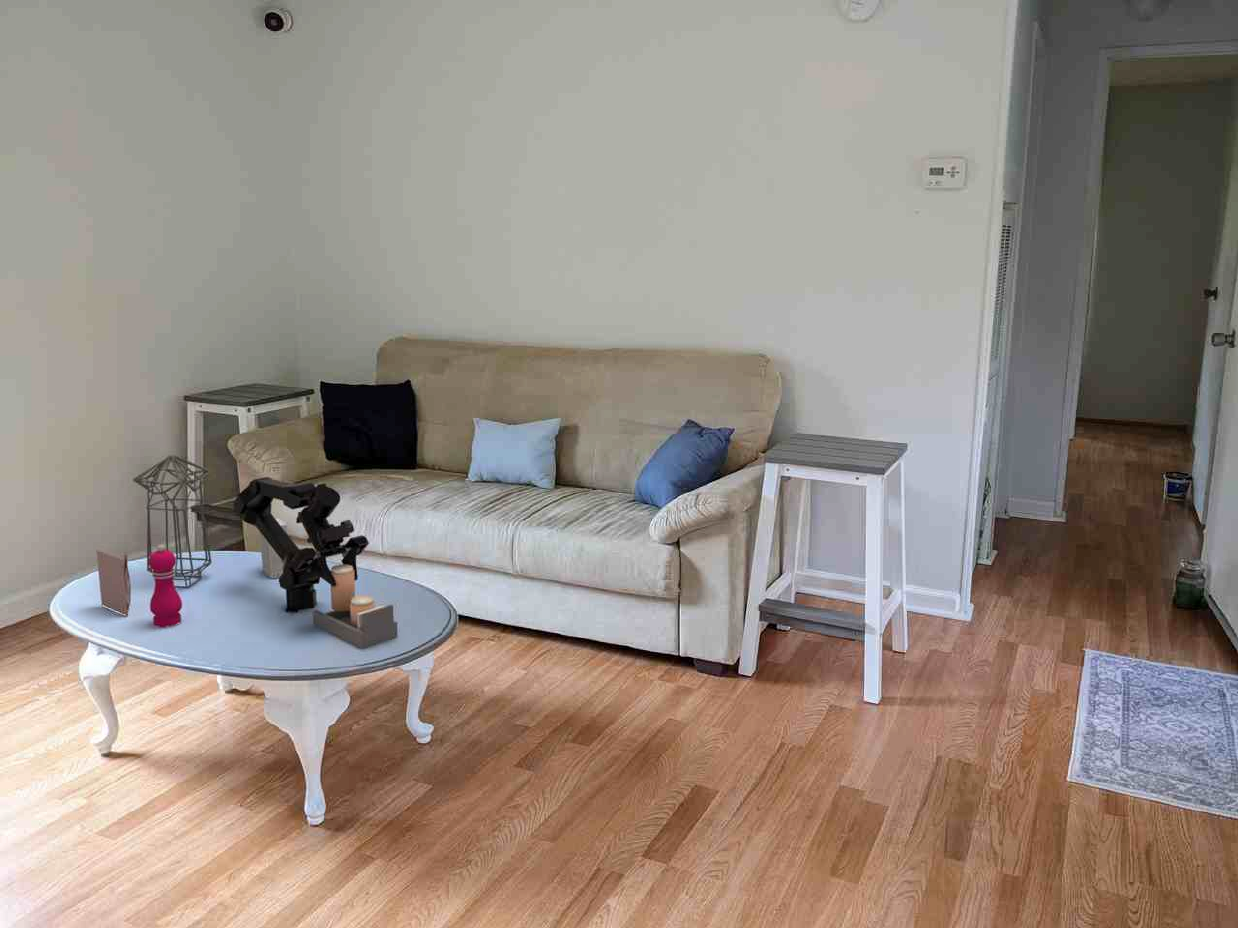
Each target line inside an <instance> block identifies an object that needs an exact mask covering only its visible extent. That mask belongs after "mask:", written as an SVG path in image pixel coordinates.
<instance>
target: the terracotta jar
mask: <svg viewBox="0 0 1238 928" xmlns="http://www.w3.org/2000/svg"><path fill="white" fill-rule="evenodd" d="M330 571H331V573H332V575H333V577H334V579H335V582H336V586H335V587H333V586H332V585H330V602H331V606H330V607H331V609H332V611H333V610H335V611H349V610H350V602H351V599H352V598H353V597H356V584H355V583H356V582H355V578H354V569H353V566H351V565H347V564H343V563H342V564H336V565H334V566H332V567H331V568H330Z"/></svg>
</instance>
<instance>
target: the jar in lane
mask: <svg viewBox="0 0 1238 928" xmlns="http://www.w3.org/2000/svg"><path fill="white" fill-rule="evenodd" d="M374 608H376V607H375V600H374V597H372V596H370V595H355V597H353V598H352V599H351V602H350V616H351V626H352V627H354V628H356V629H358V624H357V614H358V613H361V612H364V611H367V610H371V609H374Z"/></svg>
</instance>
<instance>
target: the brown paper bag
mask: <svg viewBox="0 0 1238 928" xmlns="http://www.w3.org/2000/svg"><path fill="white" fill-rule="evenodd" d="M96 562H97V570H98V571H97V573H98V579H99V581H98V582H99V591H100V600H101V601H100V602H101V606H102V605H104V606H106V607H108V608H111V609H113V610H115V611H118V612H120V613H122V614H125V615H126V616H128V617H129V613H128V611H129V612H130V608H129V606H130V607H131V603H130V601H131V602H132V597H131V594H132V593H131V592H132V591H131V590H132V587H131V585H132V584H131V578H130V574H129V566H128V552H127V545H125V547H124V550H123V554H122V558H119V557H117V556H114V555H111V554H108V553H105V552H103V551H100V550H96ZM126 616H125V617H126Z"/></svg>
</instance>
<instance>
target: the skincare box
mask: <svg viewBox="0 0 1238 928" xmlns="http://www.w3.org/2000/svg"><path fill="white" fill-rule="evenodd" d="M275 519H276V521H277V522H278V523H279V524H280V526H281V527H282V528H283V529H284V531H285V532H286V533H287V534H288V527H287V525H288V524H287V523H285V522H284V521H282V520H281V519H280V518H275ZM258 531H259V530H258ZM258 533H259V540H260V551H261V552H260V553H261V564H262V572H263V573H264V574H265V575H267V576H268V577H269V579H271V580H272V579H277V578H278V579H279V578H280V576H281V575H282V574H283V561H282V560H281V558H280V557H279V556H278V554H277V553H276V552H275V551H274V549H273V548H272V547H271V545H270V544H269V543H268V541H267V540H266V539H265V538H264V536H263V535H262V534H261V532H260V531H259V532H258Z"/></svg>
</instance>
